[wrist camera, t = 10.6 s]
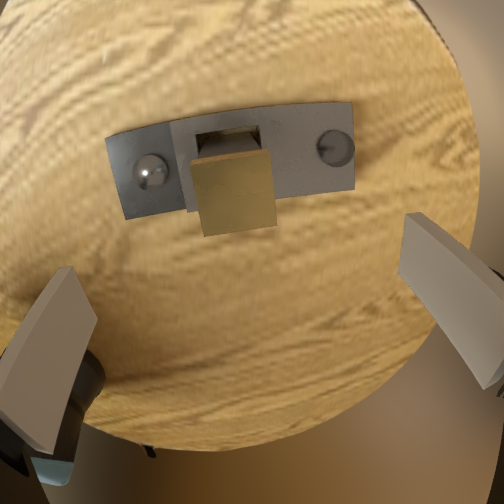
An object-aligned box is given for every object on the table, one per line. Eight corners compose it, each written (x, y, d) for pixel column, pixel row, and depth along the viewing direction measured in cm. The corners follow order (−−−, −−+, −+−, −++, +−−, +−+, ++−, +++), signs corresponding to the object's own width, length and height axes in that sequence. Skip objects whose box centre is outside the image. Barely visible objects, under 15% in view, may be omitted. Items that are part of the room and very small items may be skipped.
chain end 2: (189, 204, 31) (186, 214, 28) (173, 120, 26) (168, 122, 24) (346, 182, 31) (356, 191, 29) (342, 101, 27) (354, 102, 24)
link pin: (210, 180, 30) (203, 236, 19) (203, 136, 28) (189, 165, 16) (255, 173, 30) (277, 225, 19) (250, 129, 28) (270, 153, 16)
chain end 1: (128, 215, 31) (124, 222, 29) (108, 136, 26) (102, 139, 25) (274, 191, 31) (277, 196, 29) (265, 106, 27) (268, 106, 25)
